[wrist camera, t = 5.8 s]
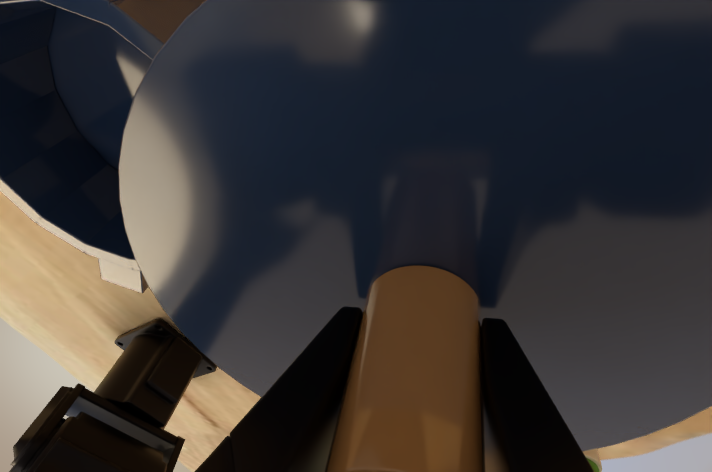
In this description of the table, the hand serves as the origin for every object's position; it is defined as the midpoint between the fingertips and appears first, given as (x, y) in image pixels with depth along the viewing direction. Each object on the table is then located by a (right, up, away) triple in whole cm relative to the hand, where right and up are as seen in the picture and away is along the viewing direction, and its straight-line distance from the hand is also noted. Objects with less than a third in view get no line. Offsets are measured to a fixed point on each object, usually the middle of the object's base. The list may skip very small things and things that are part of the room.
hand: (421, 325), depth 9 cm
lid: (0, +1, +1) cm, 1 cm away
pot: (-11, +8, +13) cm, 19 cm away
